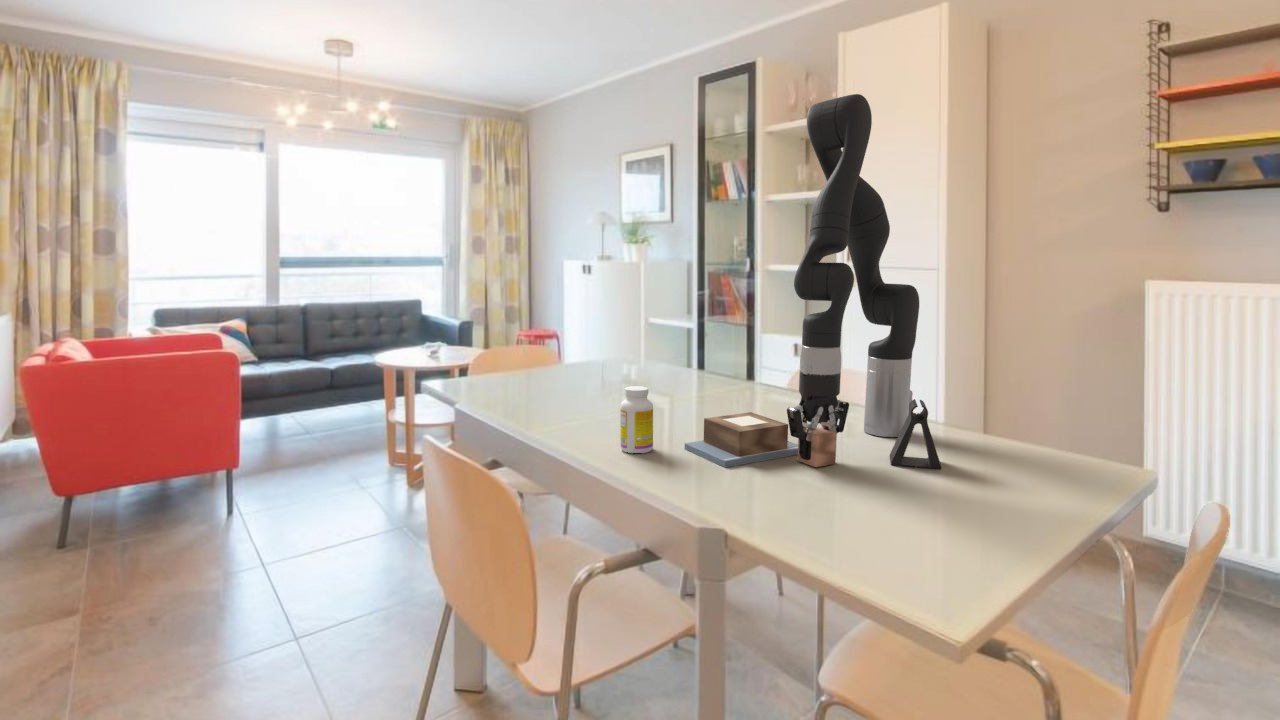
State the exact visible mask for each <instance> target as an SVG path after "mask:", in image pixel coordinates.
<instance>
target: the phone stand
mask: <svg viewBox="0 0 1280 720" xmlns="http://www.w3.org/2000/svg"><path fill="white" fill-rule="evenodd" d="M919 402H920V405H921V408H923V409H922V411H919V412H918V413H917V412H914V410H915V409H917V408H918V403H917V400H916V399H912V401H911V402H910V404H909V414H908V417H907V419H906V421H905V423H904V425H903V427H902V430H901V432H900V434H899V436H898V437H896V441H895V442H894V445H893V446H892V449H891V450H890V453H889V460H890V465H891V466H893V467H903V468H917V469H923V470H924V469H926V470H935V471H936V470H938V471H941V470H942V465H941V461H940V459H939V455H938V452H937V449H936V446H935V442H934V440H933V437H932V433H931V429H930V428H929V423H928V417H929V411H928V408H927V405H926V403H925V402H924V400H922V399H919ZM918 424H919V425H920V426H921V430H922V434H923V439H924V442H925V443H924V444H925V449H926V452H927V453H926V454H927V457H926V458H925V457H915V456H914V457H913V456H905V454H906V451H907V448H908V445H909V442H910V440H911V437H912V435H913V431H914V428H915V426H916V425H918Z"/></svg>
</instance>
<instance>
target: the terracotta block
mask: <svg viewBox="0 0 1280 720" xmlns="http://www.w3.org/2000/svg"><path fill="white" fill-rule="evenodd" d="M806 432H807V429H806V431H805V434H806ZM837 438H838V433H835V432H832V431H829V430H826V429H822V427H820V426H819V427H818V426H817V428H816V430H814V431H813V434H812V438H811V440H810V441H811V459H810V460H805V459H802V458H801V457H800V455H799V438H797V444H798V455H797V461H798V462H800V463H802V464H805V465H809V466H811V467H813V468H818V467H819V468H821V467H823V466H829V465H834V464H836V461H837V460H836V457H837Z"/></svg>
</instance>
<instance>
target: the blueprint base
mask: <svg viewBox="0 0 1280 720" xmlns="http://www.w3.org/2000/svg"><path fill="white" fill-rule="evenodd" d="M788 438H789V423H785V422H782V421H779V420H776V419H772V418H769V417H767V416H764V415H760V414H757V413H754V412H742V413H735V414H728V415H720V416H713V417H705V418H703V440H698V441H697V440H696V441H691V442H685V443H684V450H686V451H688V452H691V453H692V454H695V455H697V456H699V457H701V458H703V459H705V460H707V461H709V462H712V463H714V464H716V465H719V466H721V467H723V468H729V467H736V466H741V465H745V464H746V465H747V464H750V463H751V464H752V463H757V462H763V461H771V460H774V459H776V460H777V459H781V458H786V457H787V458H788V457H791V456H798V443H794V442H792V441H789V440H788Z"/></svg>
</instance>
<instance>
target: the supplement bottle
mask: <svg viewBox="0 0 1280 720" xmlns="http://www.w3.org/2000/svg"><path fill="white" fill-rule="evenodd" d="M624 395H625V399H624V400H623V401H621V403H620V406H619V408H620V409H619V410H620V411H619V412H620V413H619V414H620V421H619V422H620V424H619V425H620V428H619V429H620V431H619V432H620V436H619V437H620V449H621V451H622V450H623V451H622V452H624V453H627V452H628V453H627V454H633V453H642V454H647V453H649V452H650V453H651V451H652V450H653V449H654V404H653V402H652V401H651V400H649V399H648V396H649V388H648V387H646V386H640V385H639V386H638V385H637V386H636V385H635V386H634V385H633V386H632V385H631V386H627V387H625V388H624Z"/></svg>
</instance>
